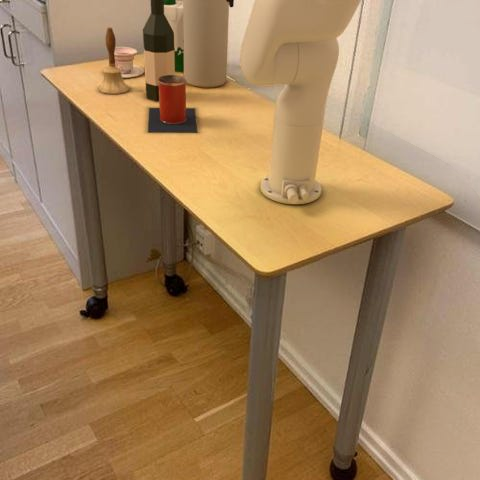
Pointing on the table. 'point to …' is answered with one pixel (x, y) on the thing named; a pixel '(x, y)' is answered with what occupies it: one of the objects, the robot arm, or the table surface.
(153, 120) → the placemat
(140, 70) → the teacup
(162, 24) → the wine bottle
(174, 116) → the tin can
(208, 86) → the cylinder vase
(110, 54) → the hand bell
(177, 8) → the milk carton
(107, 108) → the table surface
